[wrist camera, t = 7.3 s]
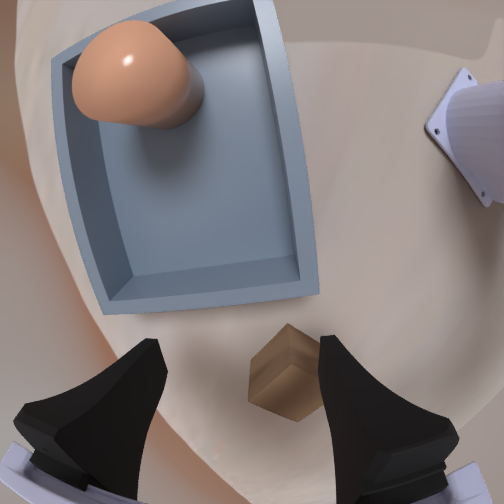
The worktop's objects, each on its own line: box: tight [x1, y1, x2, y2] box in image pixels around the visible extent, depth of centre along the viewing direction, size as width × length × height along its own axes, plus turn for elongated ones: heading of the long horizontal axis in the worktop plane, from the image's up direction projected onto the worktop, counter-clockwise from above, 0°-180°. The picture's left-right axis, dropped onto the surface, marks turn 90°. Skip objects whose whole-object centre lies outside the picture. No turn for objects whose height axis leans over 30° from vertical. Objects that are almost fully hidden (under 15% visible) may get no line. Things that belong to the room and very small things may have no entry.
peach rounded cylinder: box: [72, 20, 204, 130], centre depth 12 cm, size 5×5×7 cm
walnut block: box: [248, 323, 324, 422], centre depth 21 cm, size 5×5×5 cm
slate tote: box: [51, 0, 320, 315], centre depth 15 cm, size 18×14×5 cm
